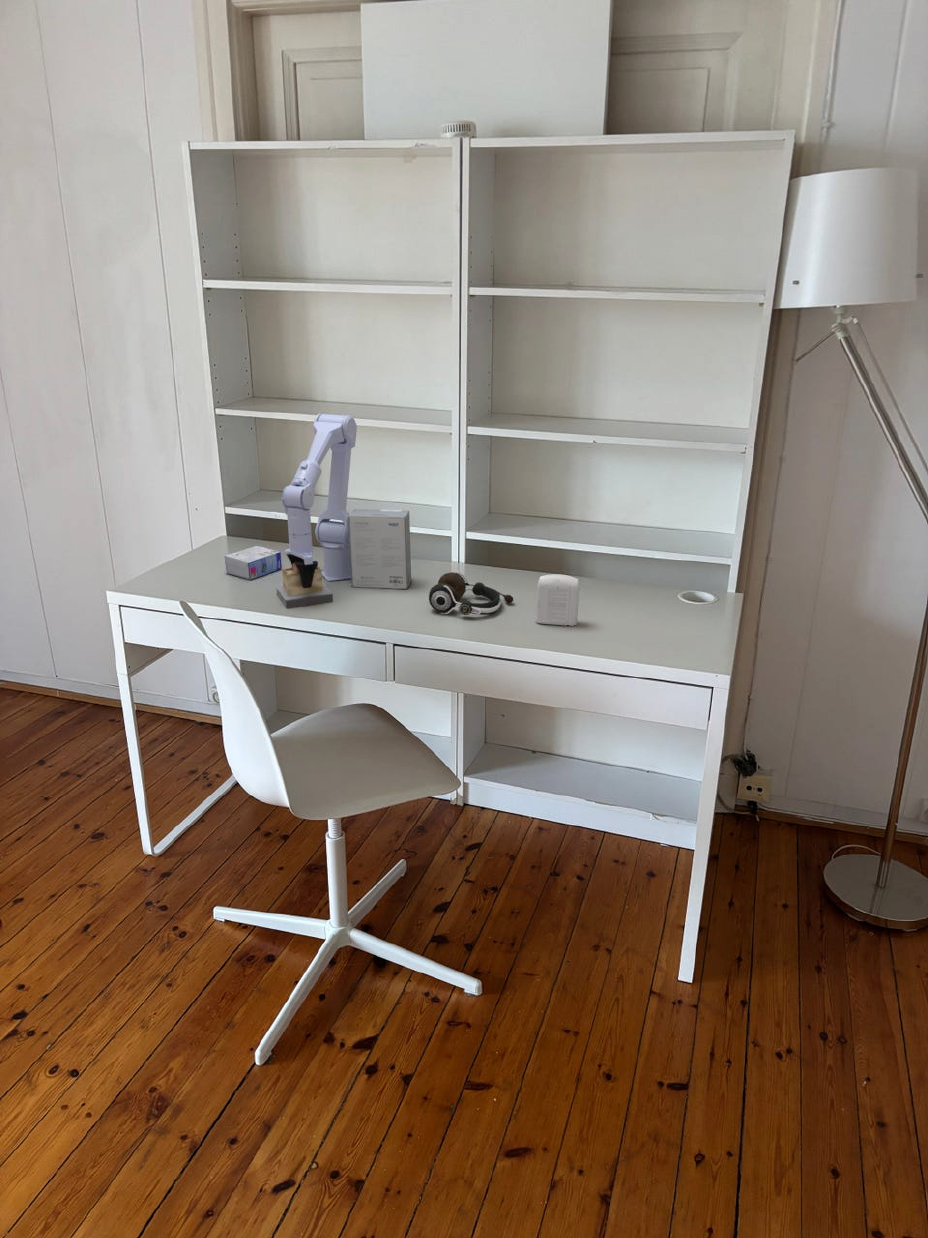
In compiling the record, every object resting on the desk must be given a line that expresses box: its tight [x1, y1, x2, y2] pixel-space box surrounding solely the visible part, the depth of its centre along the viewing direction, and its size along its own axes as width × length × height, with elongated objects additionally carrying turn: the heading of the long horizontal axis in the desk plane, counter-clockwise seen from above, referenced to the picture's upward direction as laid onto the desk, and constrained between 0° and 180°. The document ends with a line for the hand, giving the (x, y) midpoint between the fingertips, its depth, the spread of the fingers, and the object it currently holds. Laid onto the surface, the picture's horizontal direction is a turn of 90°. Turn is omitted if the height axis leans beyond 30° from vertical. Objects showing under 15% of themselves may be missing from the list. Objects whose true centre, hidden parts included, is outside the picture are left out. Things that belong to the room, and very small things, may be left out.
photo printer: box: [534, 573, 581, 627], centre depth 218 cm, size 10×4×12 cm, turn 81°
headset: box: [428, 571, 514, 616], centre depth 228 cm, size 17×8×20 cm
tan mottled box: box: [281, 566, 323, 596], centre depth 233 cm, size 9×5×6 cm, turn 114°
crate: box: [293, 563, 299, 573], centre depth 231 cm, size 3×3×2 cm
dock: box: [276, 582, 334, 609], centre depth 234 cm, size 12×11×2 cm
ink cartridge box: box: [224, 545, 283, 581], centre depth 253 cm, size 10×6×14 cm
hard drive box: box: [348, 508, 412, 590], centre depth 241 cm, size 16×8×20 cm, turn 84°
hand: (303, 582), depth 233 cm, fingers open, 7 cm apart
